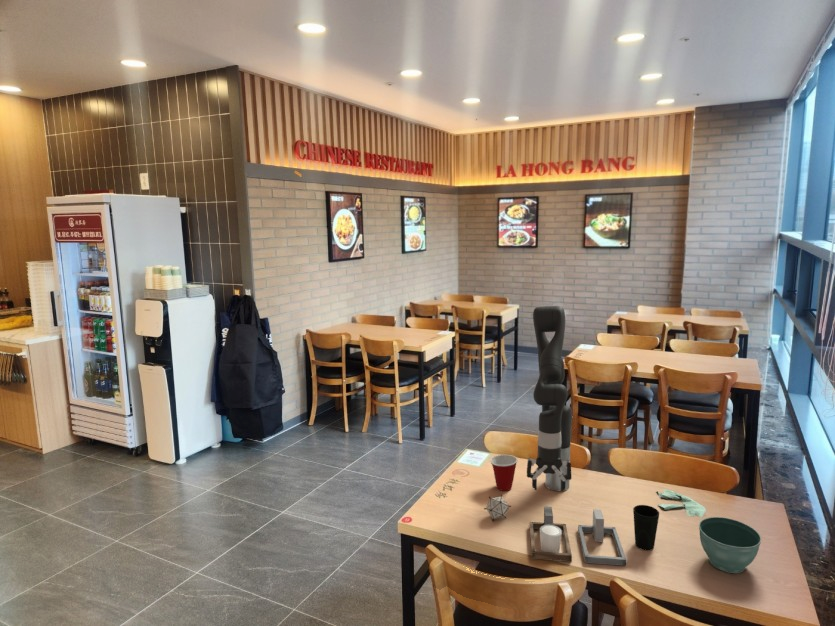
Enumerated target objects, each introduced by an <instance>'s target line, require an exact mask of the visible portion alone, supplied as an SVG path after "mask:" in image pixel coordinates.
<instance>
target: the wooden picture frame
mask: <svg viewBox="0 0 835 626" xmlns="http://www.w3.org/2000/svg"><path fill="white" fill-rule="evenodd" d="M544 525H554V526H557V527H559V528H560V529H561V530H562V533H563V538H564V539H563V540H564V545H565V550H566V553H564V552H559V553H554V552H542V551H541V550H540V551H537V550H536V547H535V546H536V545H535V536H534V535H535V534H534V530H540V528H541V526H544ZM529 538H530V550H531V551H530V552H531V559H533V560H545V561H558V562H559V561H560V562H561V561H562V562H568V563H569V562H572V561H573V557H572V556H573V555H572V548H571V544H570V540H569V534H568V528H567V524H565V523H555V522H554V512H553V507H552V506H548V505H547V506H545V505H543V522H540V521H538V522H537V521H529Z"/></svg>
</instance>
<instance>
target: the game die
mask: <svg viewBox="0 0 835 626" xmlns="http://www.w3.org/2000/svg"><path fill="white" fill-rule="evenodd" d="M488 498H489V500H488V503H487V505H486V507H484V508H483V510H486V511H487V512H488V514H489V515H490V516H491V518H492V522H494V521H495V520H496V519H500V518H501V519H502V518H504V519H507V517H506V515H507V513H508V510H509V508H511V507H512V505H509V504H508V503H507V501H506V500H505V499H504V497H503V493H501V494H500V495H499V496H496V497H491V496H488Z"/></svg>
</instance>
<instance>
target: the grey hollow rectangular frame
mask: <svg viewBox="0 0 835 626" xmlns="http://www.w3.org/2000/svg"><path fill="white" fill-rule="evenodd" d="M577 533H578V538H579V541H580V545H581V551H582V554H583V560H584V563H586V564H597V565H599V564H600V565H612V566H623V567H626V566H627V557H626V555H625V551H624V548H623V545H622V543H621V540H620V537H619V534H618V531H617V528H616V527H615V526H605V518H604V515H603V512H602V509H597V508H594V509H592V525H587V524H585V525H584V524H577ZM584 533H586V534H587V533H589V534H593V539H594V542H595V543H596V542H597V543H600V542H601V543H604V535H605V534H606V535H612V537H613V539H614V543H615V546H616V549H617V553H618V555H619V557H618V556H605V555H593V554H589V553H588V548H587V544H586V543H587V542H586V540H585V537H584Z"/></svg>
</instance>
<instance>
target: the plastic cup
mask: <svg viewBox="0 0 835 626" xmlns="http://www.w3.org/2000/svg"><path fill="white" fill-rule="evenodd" d="M489 462H490V464H491V467H492V469H493V475H494V480H495V485H496V489H498V490H499V491H501V492H508V491H511V490H512V487H513V482H514V478H515V472H516V467H517V463H518V457H516V456H515V455H510V454H497V455H494V456H492V457H490V460H489Z"/></svg>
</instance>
